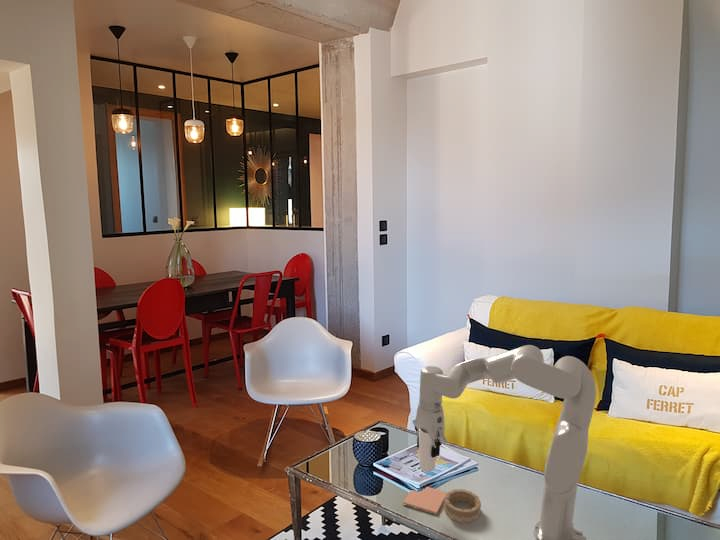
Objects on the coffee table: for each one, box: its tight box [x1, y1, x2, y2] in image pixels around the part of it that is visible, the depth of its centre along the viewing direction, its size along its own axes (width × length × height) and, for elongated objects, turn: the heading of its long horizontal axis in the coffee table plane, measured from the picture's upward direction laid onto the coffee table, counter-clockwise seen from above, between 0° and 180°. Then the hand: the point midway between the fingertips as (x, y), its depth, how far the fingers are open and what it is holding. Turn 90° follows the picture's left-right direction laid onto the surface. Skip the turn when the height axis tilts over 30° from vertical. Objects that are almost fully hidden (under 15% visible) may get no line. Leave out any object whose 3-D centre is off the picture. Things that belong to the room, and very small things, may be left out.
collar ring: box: [443, 488, 482, 523], centre depth 190 cm, size 12×12×4 cm
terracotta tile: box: [402, 486, 448, 515], centre depth 195 cm, size 12×12×1 cm
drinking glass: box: [418, 428, 438, 473], centre depth 191 cm, size 7×7×15 cm
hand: (428, 450), depth 191 cm, fingers closed on drinking glass, 6 cm apart
